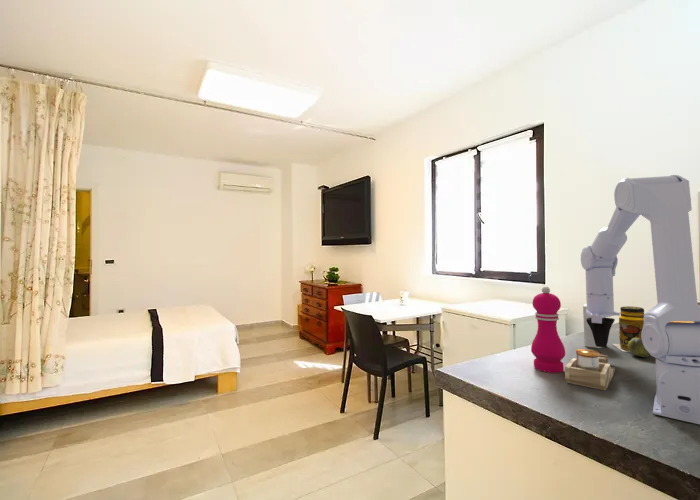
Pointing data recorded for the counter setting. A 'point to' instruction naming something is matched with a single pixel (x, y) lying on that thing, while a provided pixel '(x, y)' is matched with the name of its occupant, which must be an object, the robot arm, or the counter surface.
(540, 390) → the counter surface
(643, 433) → the counter surface
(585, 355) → the small glass jar
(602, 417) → the counter surface
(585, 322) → the skincare box
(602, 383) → the mount
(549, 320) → the pepper mill
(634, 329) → the condiment
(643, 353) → the lime
